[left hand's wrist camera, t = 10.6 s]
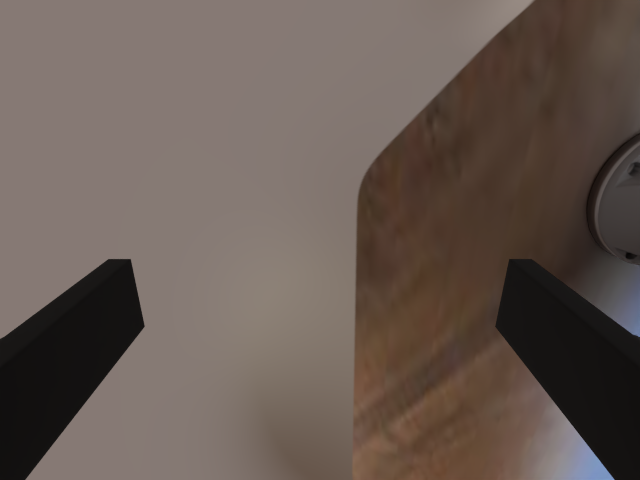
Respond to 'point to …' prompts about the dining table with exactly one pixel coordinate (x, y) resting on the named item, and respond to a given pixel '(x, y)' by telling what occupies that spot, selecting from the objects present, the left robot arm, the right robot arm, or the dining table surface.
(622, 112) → the dining table surface
